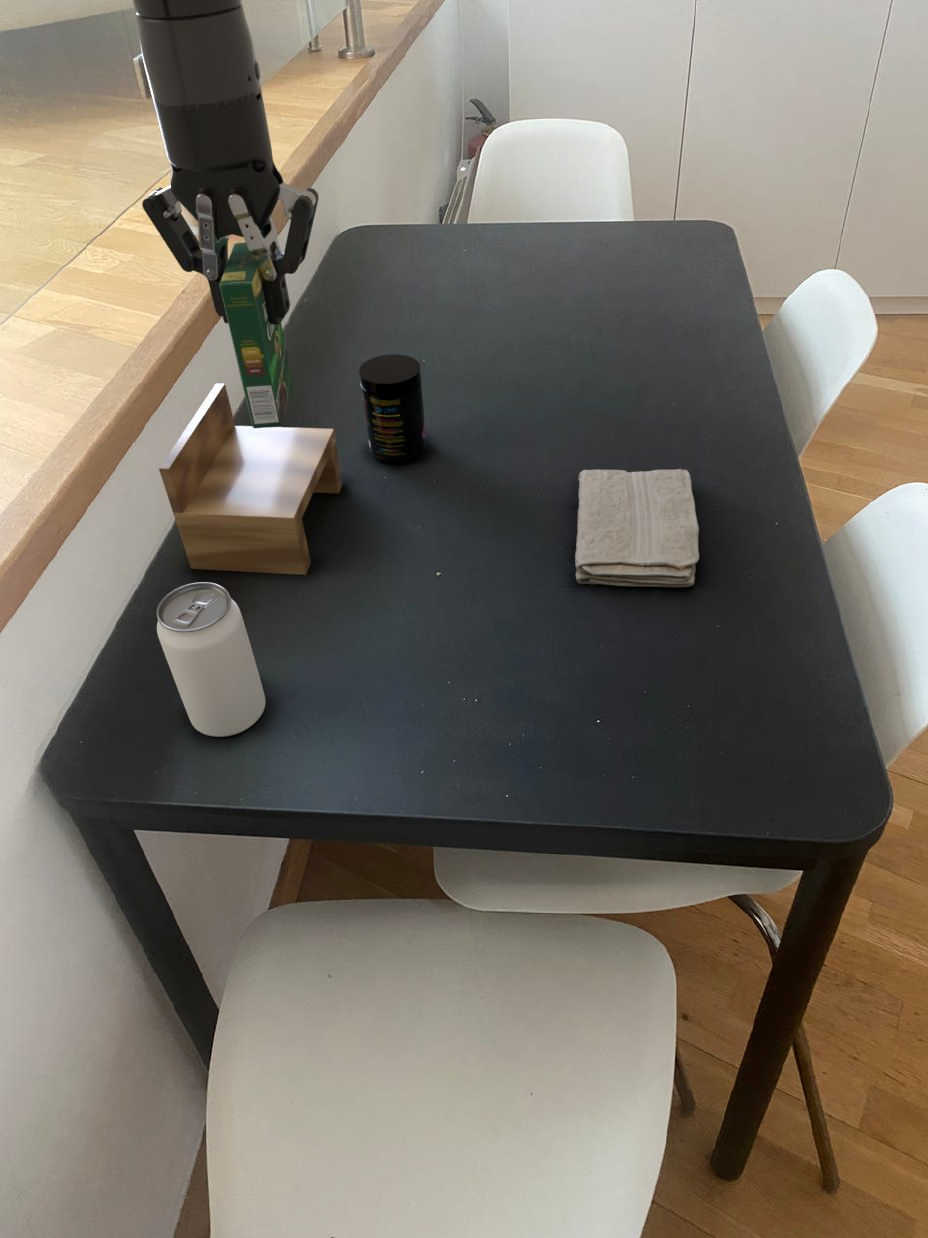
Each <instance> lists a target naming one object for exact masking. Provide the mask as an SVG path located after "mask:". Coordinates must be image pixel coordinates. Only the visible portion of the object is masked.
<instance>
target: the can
mask: <svg viewBox="0 0 928 1238" xmlns="http://www.w3.org/2000/svg"><path fill="white" fill-rule="evenodd" d="M156 618H157V623H156V632H157V637H158V641H159V643H160V646H161V648H162V651H163V654H164V657H165V659H166V662H167V664H168V667H169V669H170V672H171V675H172V678H173V680H174V683H175V686H176V688H177V691H178V693H179V696H180V699H181V701H182V703H183V706H184V709H185V711H186V714H187V717H188V719H189V721H190V723H191V725H192V726H193V728H194V729H195V730H196V731H197V732H200V733H201V734H203V735H205V736H210V737H215V738H226V737H232V736H235V735H236V736H237V735H238V734H241V733H243V732H245V731H246V730H248V729H250V728H251V727H252V726H253V725H255V724H256V722H257V721H259V719H260V718H261V717H262V715H263V714H264V711H265V707H266V695H265V692H264V687H263V684H262V680H261V677H260V673H259V669H258V666H257V663H256V660H255V656H254V653H253V652H254V651H253V649H252V646H251V642H250V639H249V636H248V632H247V629H246V626H245V621H244V618H243V615H242V612H241V609H240V607H239V606H238V604H237V603H236V601H235V600H233V598H232V597H231V594H230V592H229V591H228V590H227V589H226V588H225V587H223V586H221V585H219V584H217V583H214V582H206V581H205V582H204V581H203V582H202V581H201V582H193V583H188V584H185V585H182V586H179V587H177V588H175V589H174V590H172V591H171V592H169V593H167V594H166V595H165V596H164V597H163V598H162V600H160V602H159V604H158V605H157V609H156Z"/></svg>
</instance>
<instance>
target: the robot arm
mask: <svg viewBox="0 0 928 1238" xmlns="http://www.w3.org/2000/svg"><path fill="white" fill-rule="evenodd" d="M242 3H243V1H242V0H132V4H133V8H134V12H135V15H136V22H137V26H138V34H139V43H140V50H141V57H142V61H143V65H144V69H145V73H146V76H147V81H148V84H149V88H150V92H151V97H152V100H153V105H154V109H155V112H156V116H157V121H158V124H159V128H160V129H159V130H160V132H161V137H162V141H163V144H164V149H165V152H166V157H167V159H168V161H169V163H170V166H171V177H170V180H169V186H166V187H165V188H164V187H156V189H155V190H153V192H151V193H150V194H149V195H148V196H147V197H145V198H144V199H143V200H142V202H141V203H142V204H141V206H142V209H143V211H144V212H145V214H146V215H147V217H148V218H149V220H150V222H151V223H152V224H153V226H154V228H155V229H156V231H157V232H158V234H159V235H160V237H161V238H162V240H163V241H164V243H165V244H166V246H167V248H168V249H169V251H170V252H171V254H172V255H173V257H174V259H175V260H176V261H177V263H178V265H179V266H180V268H181V269H182V271H184V272H187V273H192V272H195V273H198V274H201V275H203V276H204V277H205V279H206V280H207V282H208V286H209V290H210V294H211V298H212V302H213V306H214V307H213V308H214V310H215V312H216V314H217V316H218V317H222V320H223V322H224V324H228V320H227V315H226V311H225V307H224V302H223V298H222V294H221V290H220V286H219V284H220V281H221V279H222V276H223V273H224V271H225V268H226V265H227V262H228V259H229V240H230V236H232V235H233V236H237V237H240V238H243V239H244V241H245V242H246V244H247V246H248V249H249V251H250V253H251V254H253V255H254V256H255V259H256V261H257V264H258V266H259V269H260V271H261V274H262V276H263V278H264V279H263V280H262V281H261V284H262V289H263V294H264V299H265V304H266V309H267V314H268V319H269V323H270V324H272V325H279V324H280V323H281V324H282V321H283V320H284V318H286V315H287V314H288V312H289V311H290V308H291V301H290V296H289V291H288V285H287V279H286V275H288V274H289V275H292V274H295V273H296V271H298V269H299V266H301V264H302V263H303V262H304V261H305V260H306V256H307V251H308V246H309V242H310V238H311V235H312V234H311V233H312V229H313V225H314V220H315V216H316V211H317V207H318V203H319V193H318V192H317V190H316V189H314V188H312V187H308V188H305V189H304V190H302V189H300V188H297V187H295V186H293V185H290V184H288V183H285V182H284V178H283V176H282V174H281V173H280V172H279V170H278V168H277V166H276V164H275V162H274V156H273V148H272V143H271V142H272V141H271V137H270V131H269V126H268V120H267V114H266V109H265V108H266V107H265V102H264V99H263V98H264V97H263V92H262V86H261V71H260V66H259V62H257V57H256V52H255V48H254V43H253V39H252V35H251V31H250V28H249V25H248V21H247V19H246V18H247V17H246V15H245V11H244V6H243V4H242ZM279 201H280V202H281V203H282V204H283V212H284V215H285V217H286V218H287V219H288V220H290V223H289V227H288V232H287V237H286V241H285V248H284V251H282V249H281V246H280V243H279V241H278V231H277V228H276V226H275V223H274V220H273V218H272V214H273V212H274V210H275V208H276V206H277V204H278V202H279ZM182 207H184V208H185V210H186V211H187V212H188V213H189V214H190V215H191V216H192V217H193V219H194V220H195V221H196V222H197V226H198V227H197V228H198V238H197V237H196V235H195V233H194V231H193V230H192V228H191V227H190V225H189V223H188V222H187V220H186V219H185V217H184V216H183V214H182V212H183V208H182Z"/></svg>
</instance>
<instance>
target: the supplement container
mask: <svg viewBox="0 0 928 1238" xmlns="http://www.w3.org/2000/svg"><path fill="white" fill-rule="evenodd" d="M358 373H359V383H360V389H361V394H362V401H363V408H364V416H365V417H364V418H365V425H366V432H367V439H368V446H369V447H368V448H369V451H370V453H371V455H372V456H373V458H375V459H376V460H377V461H379V462H381V463H384V464H388V465H404V464H407V463H411V462H414V461H416V460H417V459H418V458H420V457H421V456H422V455H423V454H424V453H425V451H426V449H427V445H428V443H427V432H426V431H427V430H426V422H425V410H424V409H425V408H424V407H425V406H424V398H423V396H424V395H423V387H422V386H423V385H422V382H423V379H422V370H421V364H420V362H419V361H418V360H417V359H416V358H414V357H412V356H409V355H405V354H398V353H391V354H382V355H378V356H373V357H371V358H370V359H367V360H366V361H364V362H363V363H361V365H360V367H359V369H358Z"/></svg>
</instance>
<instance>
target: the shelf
mask: <svg viewBox="0 0 928 1238" xmlns="http://www.w3.org/2000/svg"><path fill="white" fill-rule="evenodd" d="M340 463H341V462H340V457H339V450H338V444H337V439H336V432H335V429H334V428H321V427H320V428H317V427H289V426H288V427H286V426H284V427H283V426H282V427H267V428H253V426H251V425H236V422H235V419H234V414H233V411H232V406H231V403H230V399H229V394H228V391H227V386H226V383H215V384H214V386H213V387H212V389H211V390H210V392H209V393H208V395H207V396H206V398H205V399H204V401H202V403H201V405H200V406H199V408H198V410H196V412H195V414H194V416H193V417H192V418H191V420H190V421H189V423H188V425H187V426H186V427H185V429H184V430H183V432H182V434H181V435H180V436H179V438H178V439H177V441H176V442H175V443H174V445H173V447H172V448H171V450H170V451H169V453H168V454H167V456H166V457H165V459H164V460H163V462H162V463H161V465H160V466H159V468H158V471H159V475H160V478H161V480H162V483H163V486H164V489H165V492H166V495H167V498H168V501H169V505H170V508H171V511H172V513H173V517H174V520H175V523H176V525H177V530H178V532H179V535H180V538H181V542H182V545H183V547H184V550H185V554H186V557H187V560H188V563H189V566H190V569H191V570H202V571H203V570H205V571H224V572H241V573H243V572H245V573H261V574H262V573H263V574H264V573H265V574H279V575H280V574H282V575H300V576H302V575H303V576H306V575H307V573H308V571H309V568H310V566H311V564H312V561H311V556H310V551H309V547H308V542H307V541H308V540H307V537H306V533H305V528H304V521H303V516H304V514H305V512H306V509H307V507H308V505H309V503H310V501H311V499H312V496H313V494H314V493H316V494H317V493H321V494H322V493H323V494H340V493H341V489H342V487H343V484H344V482H343V481H344V480H343V475H342V469H341V464H340Z"/></svg>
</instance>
